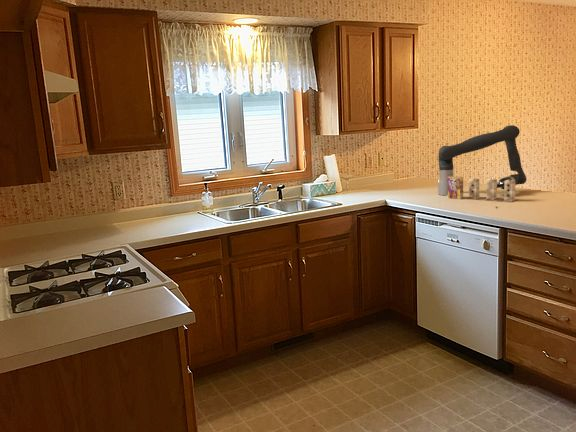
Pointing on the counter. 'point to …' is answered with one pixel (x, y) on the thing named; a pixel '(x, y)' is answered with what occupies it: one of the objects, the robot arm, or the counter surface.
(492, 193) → the plain birch block
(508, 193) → the dotted block right
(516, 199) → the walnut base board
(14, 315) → the counter surface
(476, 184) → the dotted block left
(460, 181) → the candy box
